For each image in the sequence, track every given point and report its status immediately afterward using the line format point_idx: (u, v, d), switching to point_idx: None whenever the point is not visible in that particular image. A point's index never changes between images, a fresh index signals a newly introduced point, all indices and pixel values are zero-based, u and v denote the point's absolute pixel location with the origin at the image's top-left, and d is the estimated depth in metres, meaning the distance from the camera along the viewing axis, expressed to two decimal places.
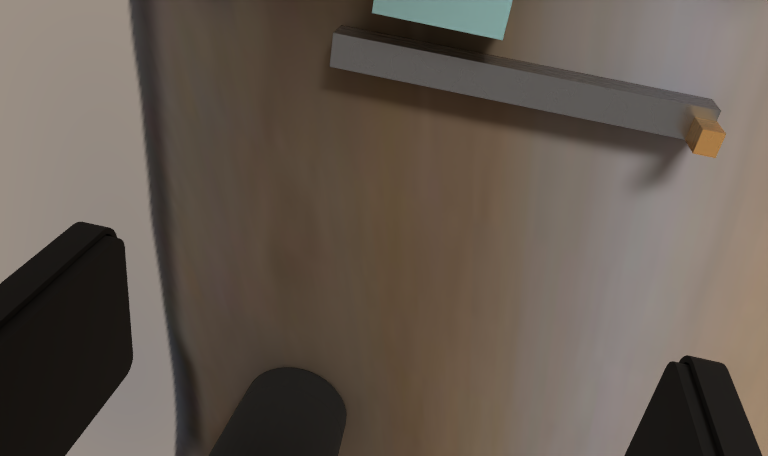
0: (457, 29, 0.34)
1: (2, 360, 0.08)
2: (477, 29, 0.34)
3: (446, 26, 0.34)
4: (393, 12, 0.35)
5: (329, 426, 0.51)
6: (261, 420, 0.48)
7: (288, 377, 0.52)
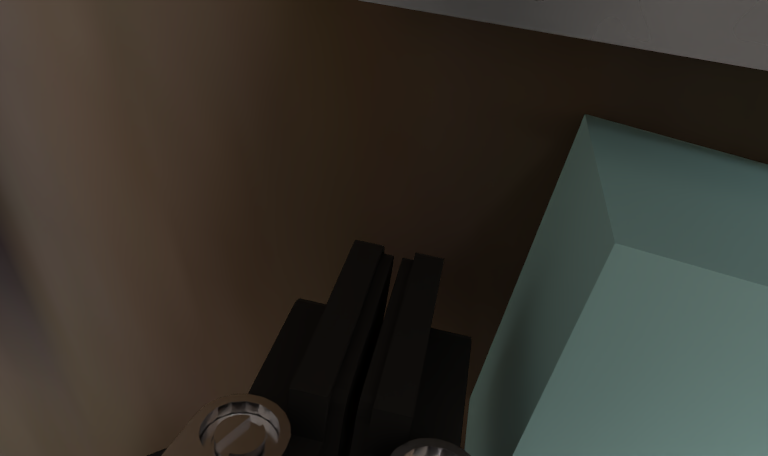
0: None
1: (357, 373, 0.09)
2: None
3: None
4: None
5: None
6: None
7: None
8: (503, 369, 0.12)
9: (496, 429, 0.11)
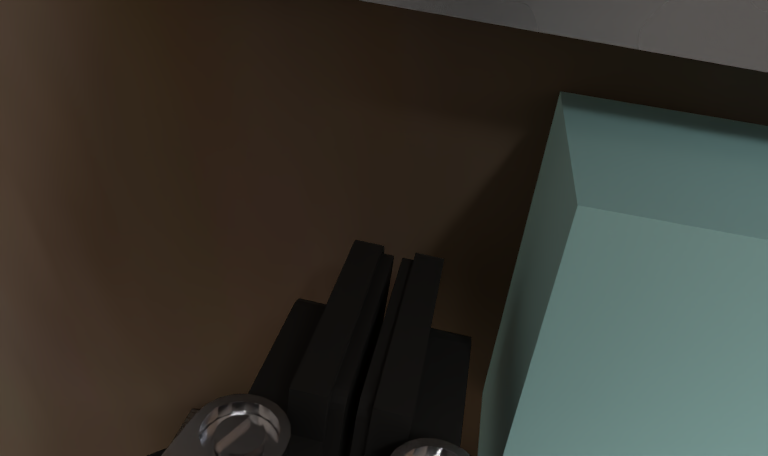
0: None
1: (357, 372, 0.09)
2: None
3: None
4: None
5: None
6: None
7: None
8: (504, 352, 0.12)
9: (499, 411, 0.11)
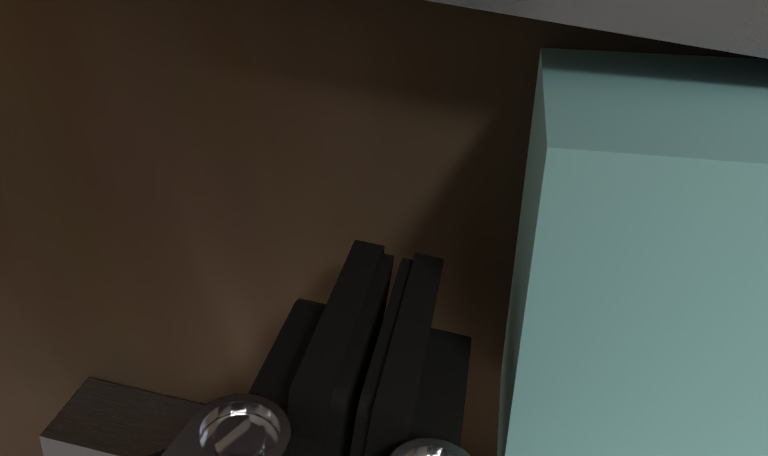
0: None
1: (356, 373, 0.09)
2: None
3: None
4: None
5: None
6: None
7: None
8: (511, 322, 0.12)
9: (508, 381, 0.11)
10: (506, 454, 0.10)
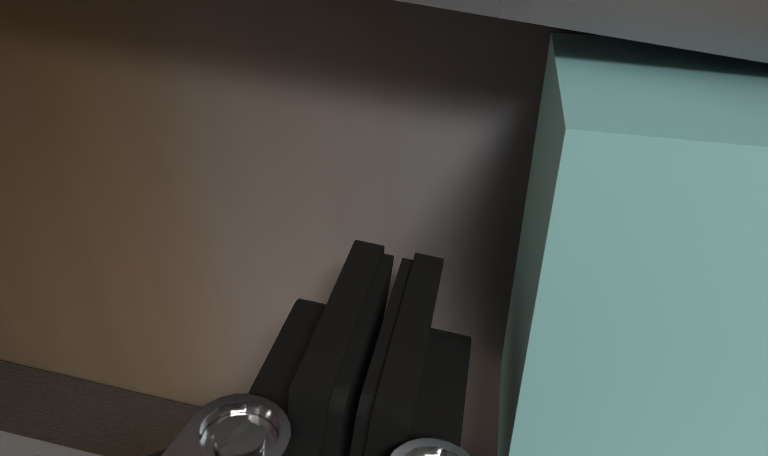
0: None
1: (356, 373, 0.09)
2: None
3: None
4: None
5: None
6: None
7: None
8: (515, 315, 0.11)
9: (512, 374, 0.10)
10: (511, 448, 0.09)
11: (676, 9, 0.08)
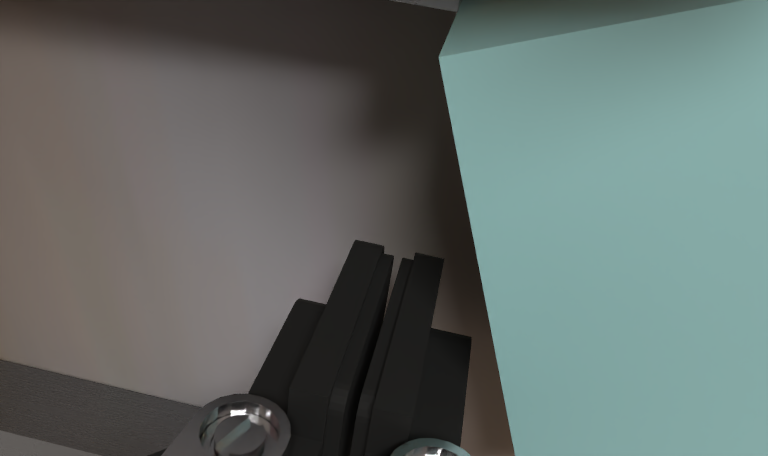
0: None
1: (357, 372, 0.09)
2: None
3: None
4: None
5: None
6: None
7: None
8: None
9: None
10: (506, 402, 0.09)
11: None
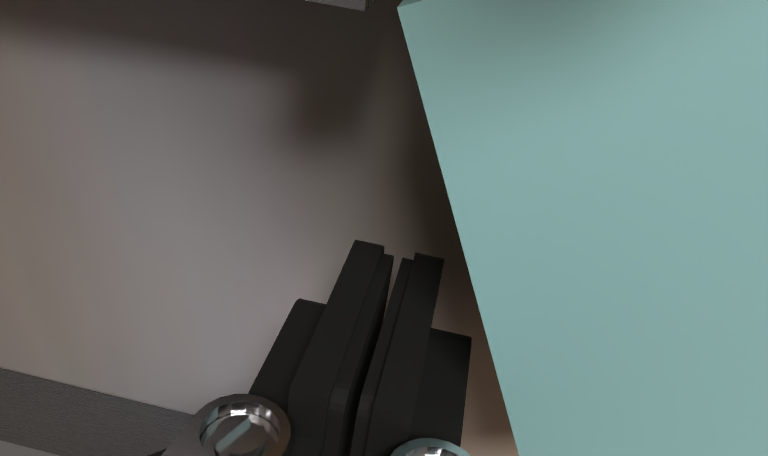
0: None
1: (356, 373, 0.09)
2: None
3: None
4: None
5: None
6: None
7: None
8: None
9: None
10: (497, 371, 0.09)
11: None
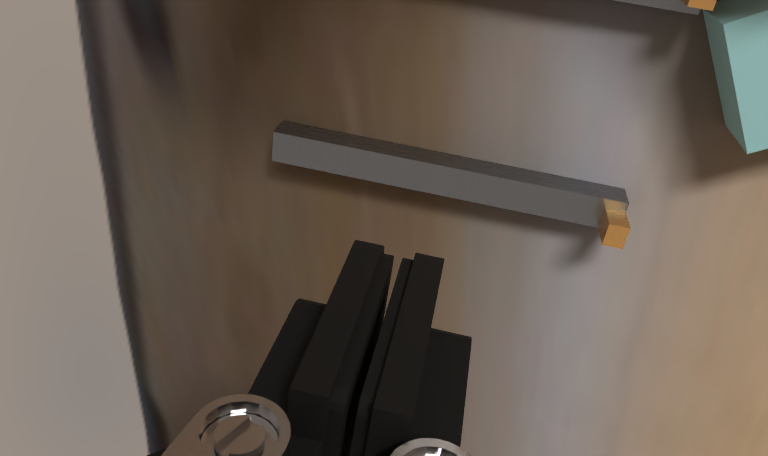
0: None
1: (357, 373, 0.09)
2: None
3: None
4: None
5: None
6: None
7: None
8: (725, 92, 0.35)
9: (732, 104, 0.34)
10: (740, 115, 0.33)
11: None
